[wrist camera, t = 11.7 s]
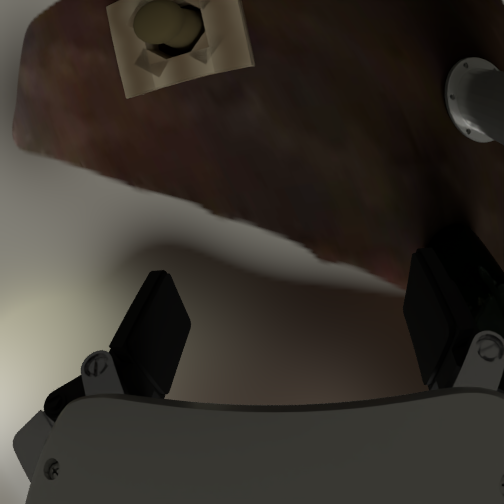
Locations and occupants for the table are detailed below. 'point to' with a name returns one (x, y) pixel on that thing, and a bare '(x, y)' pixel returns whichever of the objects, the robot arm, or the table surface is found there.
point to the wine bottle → (473, 274)
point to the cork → (168, 25)
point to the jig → (186, 65)
